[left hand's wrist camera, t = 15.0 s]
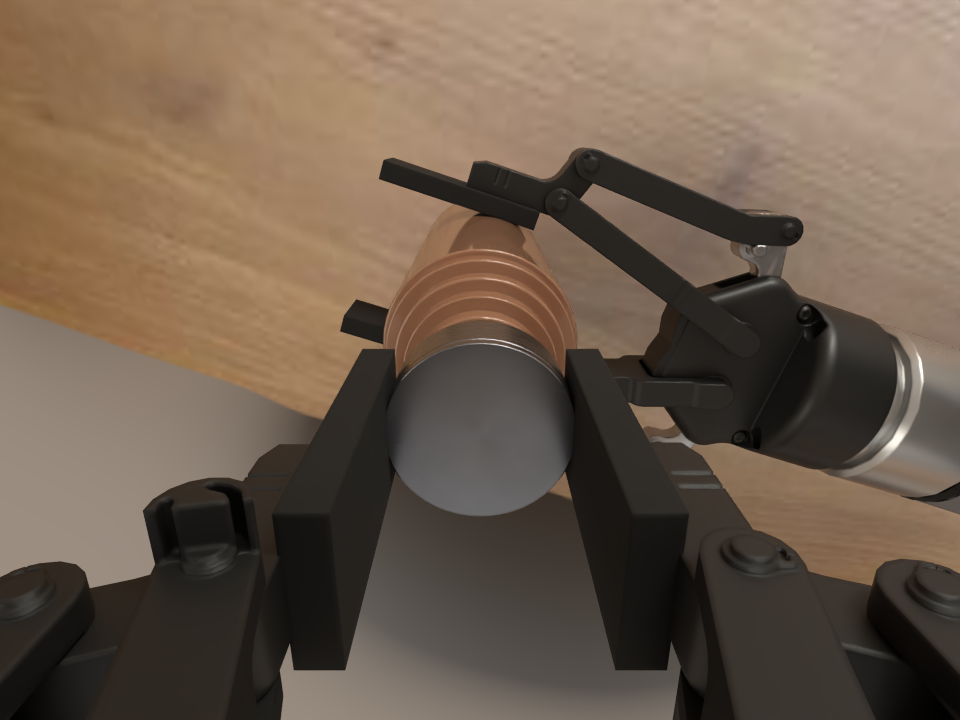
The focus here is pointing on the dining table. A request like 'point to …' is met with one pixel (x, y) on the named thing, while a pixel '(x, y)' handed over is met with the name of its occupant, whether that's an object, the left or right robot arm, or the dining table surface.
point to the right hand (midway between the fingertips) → (367, 244)
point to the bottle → (479, 285)
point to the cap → (480, 419)
